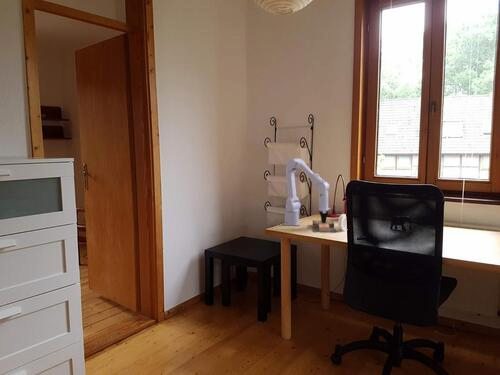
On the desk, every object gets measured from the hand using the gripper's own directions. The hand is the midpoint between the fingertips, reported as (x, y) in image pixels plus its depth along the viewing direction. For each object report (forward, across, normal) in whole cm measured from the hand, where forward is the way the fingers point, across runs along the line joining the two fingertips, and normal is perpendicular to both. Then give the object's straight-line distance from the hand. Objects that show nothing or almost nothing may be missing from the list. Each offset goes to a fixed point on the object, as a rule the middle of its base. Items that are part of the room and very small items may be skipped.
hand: (323, 222), depth 244 cm
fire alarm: (+4, +25, -25) cm, 35 cm away
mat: (+4, -6, 0) cm, 7 cm away
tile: (+3, -5, 0) cm, 6 cm away
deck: (+4, +6, 0) cm, 7 cm away
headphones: (+4, -1, -15) cm, 16 cm away
